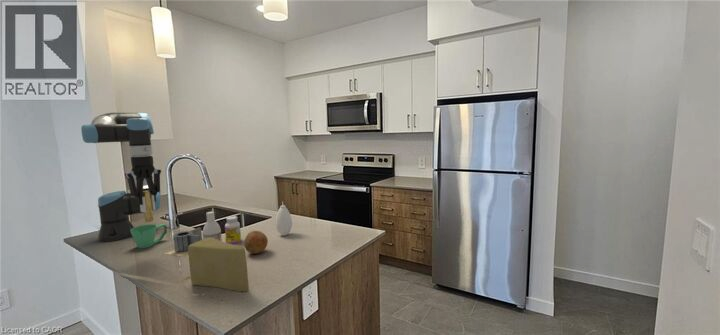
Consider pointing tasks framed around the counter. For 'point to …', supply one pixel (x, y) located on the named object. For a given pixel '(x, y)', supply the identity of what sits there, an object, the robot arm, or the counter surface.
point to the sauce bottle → (283, 220)
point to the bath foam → (211, 228)
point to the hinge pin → (148, 207)
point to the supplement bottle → (232, 230)
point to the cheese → (218, 265)
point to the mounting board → (177, 253)
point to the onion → (255, 242)
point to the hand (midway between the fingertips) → (148, 210)
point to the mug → (147, 235)
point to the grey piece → (186, 239)
